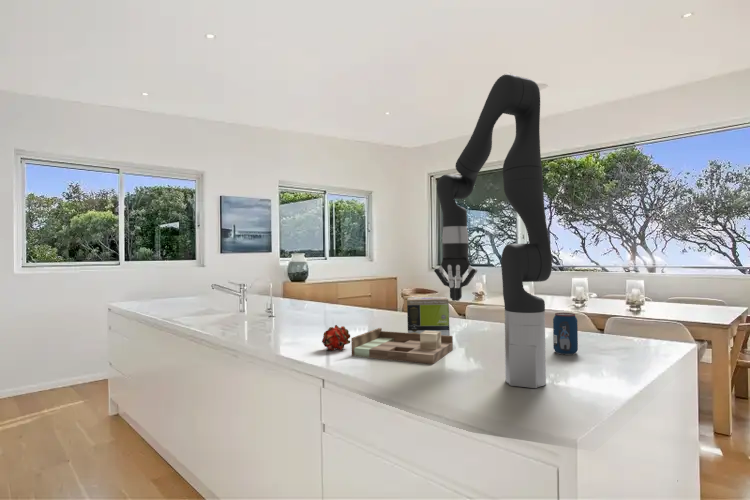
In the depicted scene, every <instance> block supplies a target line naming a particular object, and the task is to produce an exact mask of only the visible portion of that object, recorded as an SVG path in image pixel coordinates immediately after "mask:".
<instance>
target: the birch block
mask: <svg viewBox="0 0 750 500" xmlns="http://www.w3.org/2000/svg"><path fill="white" fill-rule="evenodd" d="M439 347H441V332H439V331H424V332H422V333H420V348H425V349H438V348H439Z"/></svg>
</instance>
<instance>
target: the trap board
mask: <svg viewBox="0 0 750 500" xmlns="http://www.w3.org/2000/svg"><path fill="white" fill-rule="evenodd" d="M453 337H454V336H453V335H450V336H446V335H441V347H439V348H438V349H425V348H420V334H417V333H408V332H401V331H386V330H382V327H378V328H374V329H373V330H369V331H367V332H364V333H362V334H359V335H356V336H353V337H350V339H351V340H350V343H351V357H357V358H358V357H359V358H368V359H379V360H387V361H388V360H390V361H397V362H399V361H400V362H409V363H410V362H411V363H419V364H429V365H430V364H431V365H434V364H436V363H437V362H439V360H441V359H442V358H443V357H445V356H447V355H448V354H449V353H451V352H452V351H453V350H454V348H453V346H454V345H453V340H454V339H453Z"/></svg>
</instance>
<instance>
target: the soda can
mask: <svg viewBox="0 0 750 500" xmlns="http://www.w3.org/2000/svg"><path fill="white" fill-rule="evenodd" d="M552 323H553V324H552V325H553V326H552V330H553V331H552V332H553V337H552V339H553V340H552V342H553V350H554V352H555V353H556V354H558V355H563V354H565V355H564V356H566V355H567V356H573V355H572V354H574V355H576V354H577V352H578V350H579V347H578V346H579V344H578V343H579V342H578V341H579V339H578V338H579V336H578V334H579V332H578V319H577V317H576V314H575V313H573V312H556V313H554V317H553V319H552Z"/></svg>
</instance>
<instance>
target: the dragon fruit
mask: <svg viewBox="0 0 750 500" xmlns="http://www.w3.org/2000/svg"><path fill="white" fill-rule="evenodd" d="M322 336H323V337H322V340H321V343H322V344H323V345H324V347H326V348H327V349H326V351H327V352H333V351H335V350H337V349H338V350H339V351H342V350H343V349H345V345H349V344H350V343H351V340H349V339H351V334H350V333H349V329H348V328H346V327H345V326H344V325H342V326H341V327H339V326H338V325H337V324H335V325H334V327H333V326H331V327H329V328H328V329H327V330H326V331H324V333H323V335H322Z"/></svg>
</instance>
